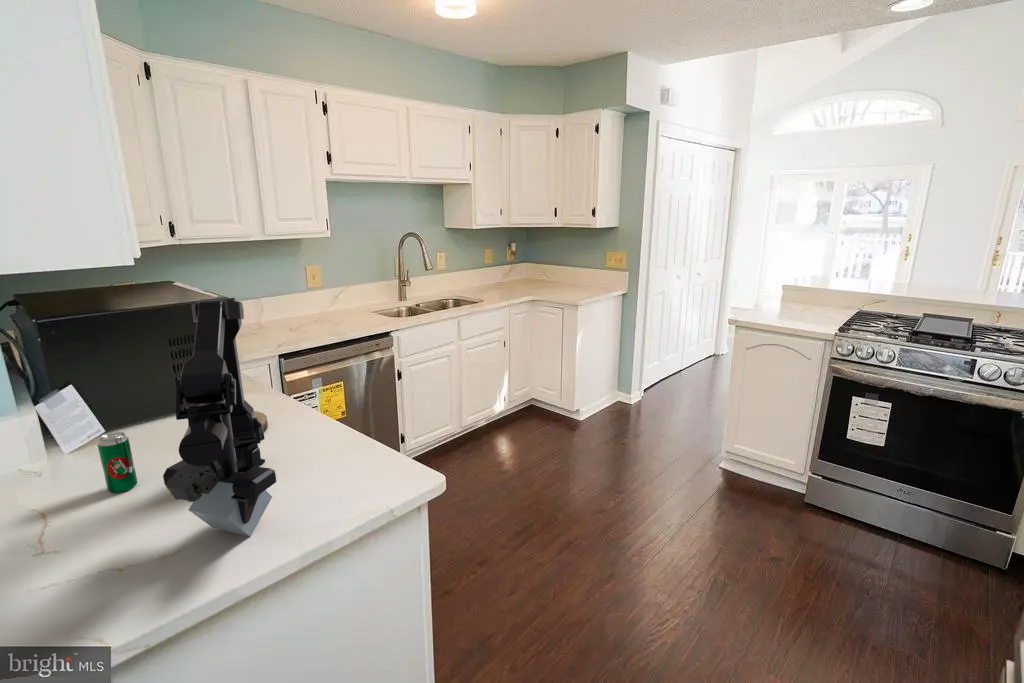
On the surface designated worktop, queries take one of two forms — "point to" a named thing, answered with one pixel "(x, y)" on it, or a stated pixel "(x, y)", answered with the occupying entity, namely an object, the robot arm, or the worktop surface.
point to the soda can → (117, 462)
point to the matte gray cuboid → (228, 510)
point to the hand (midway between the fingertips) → (226, 519)
